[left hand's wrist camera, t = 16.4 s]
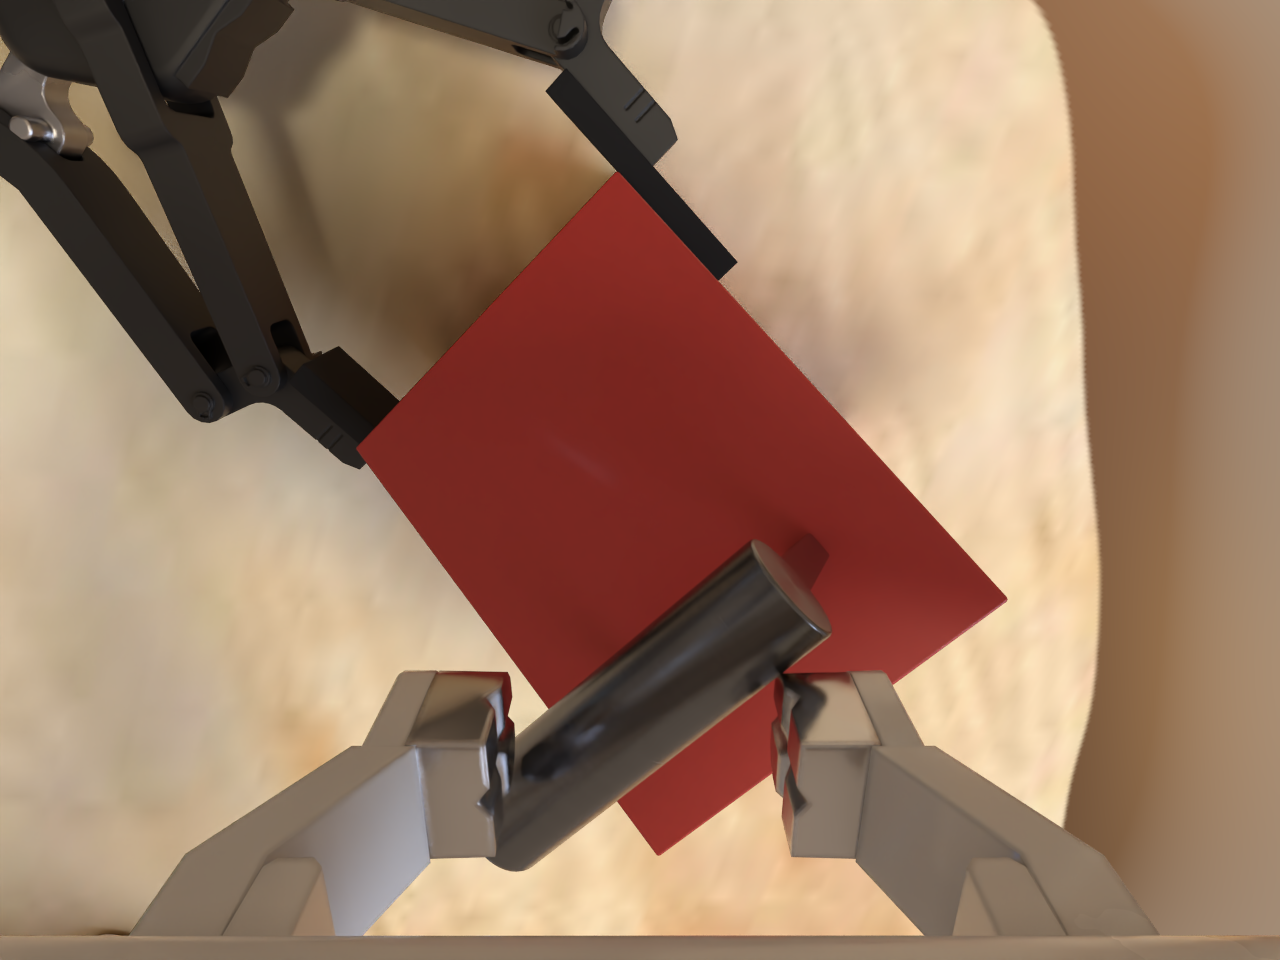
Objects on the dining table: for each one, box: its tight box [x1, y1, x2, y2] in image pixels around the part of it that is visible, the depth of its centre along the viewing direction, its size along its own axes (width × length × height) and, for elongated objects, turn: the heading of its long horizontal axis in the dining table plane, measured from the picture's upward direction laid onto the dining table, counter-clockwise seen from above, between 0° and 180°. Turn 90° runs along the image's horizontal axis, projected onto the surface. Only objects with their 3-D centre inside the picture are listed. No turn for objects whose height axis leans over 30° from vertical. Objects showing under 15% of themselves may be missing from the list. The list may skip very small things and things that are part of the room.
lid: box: [356, 172, 1007, 872], centre depth 15 cm, size 13×10×8 cm
